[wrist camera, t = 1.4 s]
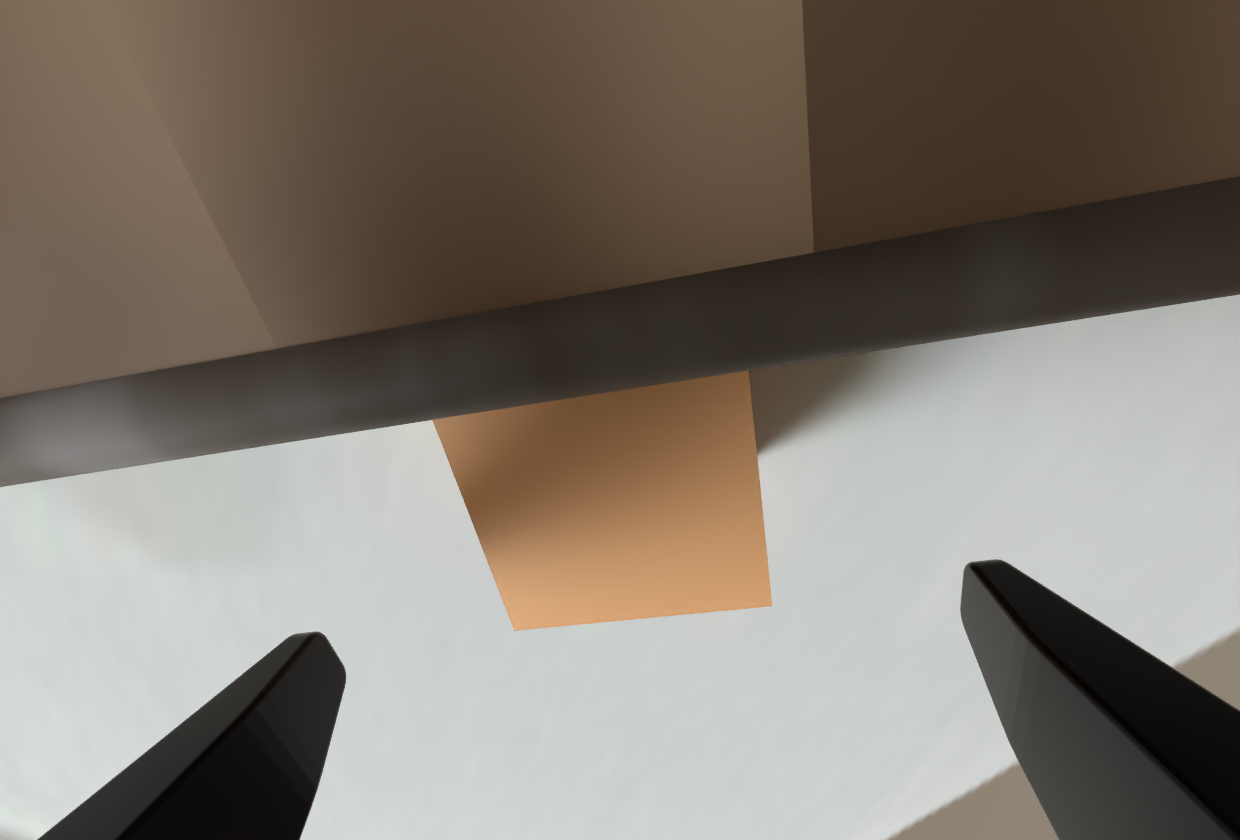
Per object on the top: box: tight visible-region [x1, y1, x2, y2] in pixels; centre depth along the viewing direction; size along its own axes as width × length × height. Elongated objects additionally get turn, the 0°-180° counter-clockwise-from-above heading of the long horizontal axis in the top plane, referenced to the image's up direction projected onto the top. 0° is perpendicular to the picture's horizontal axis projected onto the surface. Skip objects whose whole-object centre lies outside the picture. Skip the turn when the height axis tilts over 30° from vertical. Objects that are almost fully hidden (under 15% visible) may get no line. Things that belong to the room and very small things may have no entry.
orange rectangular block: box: [433, 371, 772, 631], centre depth 10 cm, size 4×10×4 cm, turn 11°
